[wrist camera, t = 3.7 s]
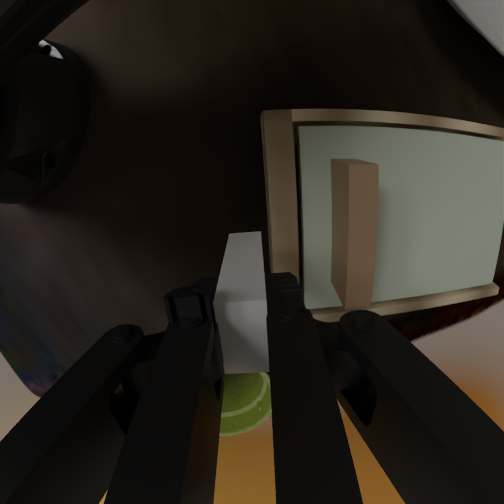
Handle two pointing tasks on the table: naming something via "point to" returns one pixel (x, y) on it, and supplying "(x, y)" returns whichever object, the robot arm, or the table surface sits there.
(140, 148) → the table surface
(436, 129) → the box
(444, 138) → the cover plate
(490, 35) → the soup bowl
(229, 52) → the table surface
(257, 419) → the plant pot
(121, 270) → the table surface
